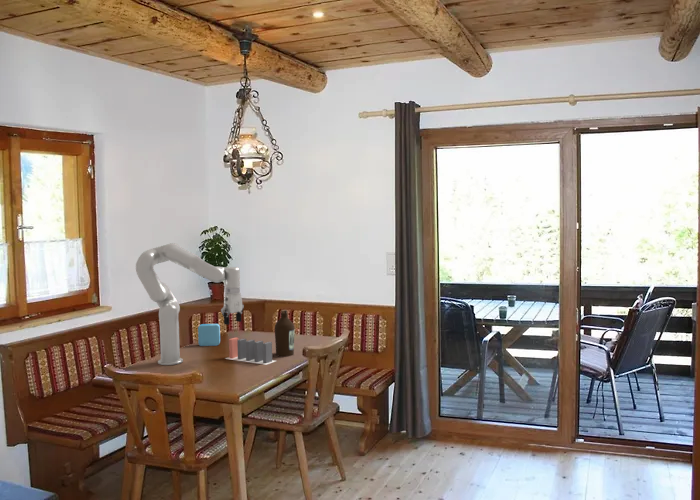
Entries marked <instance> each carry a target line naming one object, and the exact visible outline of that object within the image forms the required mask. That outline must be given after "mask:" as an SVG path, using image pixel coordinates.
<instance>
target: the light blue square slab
mask: <svg viewBox="0 0 700 500" xmlns="http://www.w3.org/2000/svg"><path fill="white" fill-rule="evenodd" d="M197 336H198V337H197V339H198V340H197V341H198V345H199V346H200V347H210V346H212V347H215V346H219V345H220V343H221V325H220V324H219V323H202V324H199V325H198V327H197Z"/></svg>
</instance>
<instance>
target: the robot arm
mask: <svg viewBox="0 0 700 500" xmlns="http://www.w3.org/2000/svg"><path fill="white" fill-rule="evenodd" d="M169 261H170V262H172V263H174V264H177V265H178V266H181V267H183V268H184V269H187V270H189V271H191V272H192V273H195V274H197V275H198V276H200V277H202V278H204V279H207V281H210V282H213V283H221V282H223V281H224V289H225V290H224V292H225V294H224V298H223V307H222V308H221V309H220V312H221V315H222V317H223V325H227V326H230V317H229V316H230V315H231V314H234V313H236V314H235V321H236V322H237V323H238V322H240V323H241V322H242V314H243V312H244V306H245V305H244V303H243V299H242V298H243V297H242V293H241V281H240V278H241V275H240V274H241V273H240V272H241V271H240V268H239V267H237V266H228V267H227V266H226V267H225V266H224V267H223V266H214V265H212V264H210V263H208V262H206V261H205V260H203V259H202V258H201V257H200V256H199V255H197V254H196V253H193V252H192V251H189V250H188V249H185V248H182V247H181V246H180V245H179V244H178V243H175V242H171V243H170V242H169V243H168V244H165V245H161V246H158V247H157V246H156V247H154V248H153V247H152V248H149V249H147V250H145V251H143V252H142V253H141V254H140V255H139V256H138V258H137V260H136V263H135V272H136V275H137V277H138V279H139V281H140V282H141V284H142V286H143V287H144V289H145V291H146V293H147V295H148V296H149V298H150V300H152V302H155V303H156V304H157V305H158V307H159V310H158V320H159V340H160V341H159V343H160V359H158V361H157V364H158V365H162V366H173V365H179V364H182V363H183V362H184V358H181V355H180V354H181V353H180V351H181V350H180V349H181V348H180V323H179V313H180V311H181V307H180V304H179V302H178V300H177V299H176V297H175V295H174V294H173V292H172V290H171V288H170V287H169V285H167V283H165V282H162V281H161V279H160V278H159V276H158V274H157V273H156V271H155V270H154V266H156V265H157V264H158V265H159V264H161V263H165V262H169Z"/></svg>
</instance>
